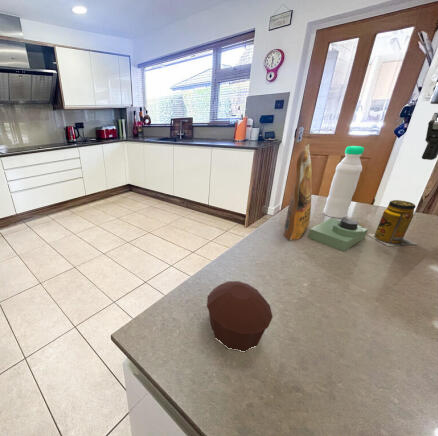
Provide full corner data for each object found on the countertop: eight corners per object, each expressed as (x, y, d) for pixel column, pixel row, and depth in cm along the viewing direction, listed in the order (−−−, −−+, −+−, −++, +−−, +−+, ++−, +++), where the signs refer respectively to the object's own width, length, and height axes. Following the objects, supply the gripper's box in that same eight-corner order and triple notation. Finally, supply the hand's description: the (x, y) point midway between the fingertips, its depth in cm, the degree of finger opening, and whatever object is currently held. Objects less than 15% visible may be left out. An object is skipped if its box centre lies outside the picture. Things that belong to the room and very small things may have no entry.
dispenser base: (328, 226, 81) (332, 213, 79) (366, 238, 72) (372, 224, 70) (307, 237, 75) (311, 223, 73) (345, 252, 67) (351, 237, 65)
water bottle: (351, 218, 85) (375, 147, 74) (331, 219, 85) (352, 148, 75) (337, 210, 91) (357, 144, 81) (318, 211, 92) (337, 145, 81)
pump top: (343, 223, 73) (345, 217, 72) (358, 228, 70) (361, 221, 69) (336, 226, 71) (338, 220, 70) (352, 231, 68) (354, 225, 67)
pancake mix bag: (273, 238, 76) (290, 150, 64) (290, 218, 88) (308, 140, 76) (296, 245, 71) (320, 151, 59) (311, 223, 83) (333, 141, 72)
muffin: (271, 366, 39) (282, 324, 35) (203, 352, 42) (206, 312, 38) (260, 312, 49) (268, 274, 45) (207, 304, 52) (209, 267, 48)
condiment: (366, 234, 75) (379, 199, 70) (393, 233, 74) (409, 197, 69) (387, 246, 68) (404, 208, 63) (417, 245, 68) (436, 207, 63)
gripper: (485, 76, 45) (442, 165, 53) (499, 76, 51) (459, 157, 58) (428, 81, 51) (397, 160, 58) (447, 81, 57) (416, 153, 64)
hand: (428, 159), depth 58 cm, fingers closed
